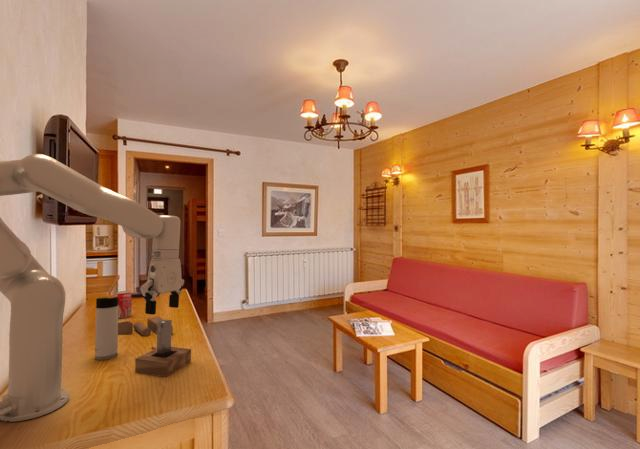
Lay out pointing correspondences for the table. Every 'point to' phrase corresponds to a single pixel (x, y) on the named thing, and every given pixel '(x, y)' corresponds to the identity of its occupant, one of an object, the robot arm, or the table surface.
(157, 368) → the brown hollow tray
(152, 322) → the wooden block set
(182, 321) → the table surface
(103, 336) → the travel mug
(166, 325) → the round metal rod
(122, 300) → the soda can
